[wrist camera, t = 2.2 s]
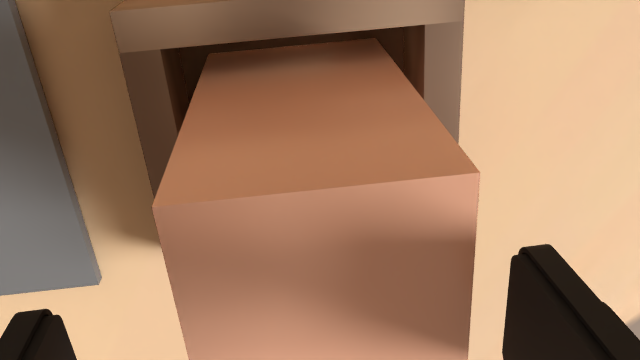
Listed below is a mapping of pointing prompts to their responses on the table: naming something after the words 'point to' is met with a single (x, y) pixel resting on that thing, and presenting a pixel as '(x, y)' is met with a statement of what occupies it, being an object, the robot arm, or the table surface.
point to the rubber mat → (35, 181)
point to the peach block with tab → (317, 211)
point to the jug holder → (270, 23)
